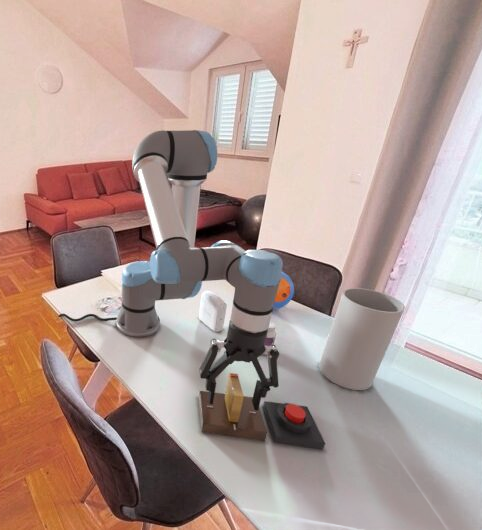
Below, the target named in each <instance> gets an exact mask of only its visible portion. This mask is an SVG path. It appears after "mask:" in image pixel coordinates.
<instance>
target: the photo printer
mask: <svg viewBox="0 0 482 530" xmlns="http://www.w3.org/2000/svg"><path fill="white" fill-rule="evenodd" d="M227 306H228V304H227V302H226V301H225V299H223V298H222V297H221V296H220V295H219V294H217V293H216V292H214V291H210V290H204V291H203V292H202V293H201V296H200V303H199V310H198V319H199V320H200V322H202V323H203V324H205V326H207V327H208V328H209V329H210V330H211V331H213V332H216V333H217V332H221V331H222V330H223V329H224V324H225V319H226V314H227V308H228V307H227Z"/></svg>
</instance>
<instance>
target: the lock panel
mask: <svg viewBox="0 0 482 530" xmlns="http://www.w3.org/2000/svg"><path fill="white" fill-rule="evenodd" d="M208 393H209V391H207V390H206V391H205V390H199V391H198V399H197V402H198V410H199V411H198V413H199V421H200V430H201V433H205V434H211V435H217V436H224V437H232V438H238V439H245V440H252V441H257V442H266V440H267V436H268V430H267V427H266V423H265V420H264V417H263V414H262V411H261V408H260V406H259V409H258V410H254V406H253V403H252V399H253V396H248V395H247V396H246V395H243V396H244V398H243V403H242V407H241V411H240V416H239V420H238V422H231V421H229V418H228V413H227V408H226V403H225V393H221V392H215V394H214V400H213V404H209V397H208Z"/></svg>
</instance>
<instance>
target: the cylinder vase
mask: <svg viewBox="0 0 482 530" xmlns="http://www.w3.org/2000/svg"><path fill="white" fill-rule="evenodd" d="M338 303H339V304H338V306H337V309H336V313H335V316H334V318H333V321H332V324H331V327H330V330H329V333H328V335H327V339H326V343H325V345H324V348H323V351H322V354H321V357H320V360H319V363H318V367H319V370H320V372H321V374H322V375H323V376H324V377H325V378H326V379H328V380H329V381H330V382H332V383H333V384H335V385H337V386H339V387H341V388H345V389H349V390H352V391H366V390H368V389H370V388H371V386H373V382H374V380H375V379H376V375H377V373H378V371H379V370H380V366H381V365H382V362H383V360H384V357H385V355H386V353H387V351H388V348H389V347H390V343H391V342H392V339H393V337H394V335H395V332H396V330H397V327H398V325H399V323H400V321H401V319H402V316H403V315H404V314H403V313H404V311H405V309H406V306H405V305H404V304H403V302H401V301H400V300H399V299H397V298H396V297H393V296H391V295H389V294H386V293H384V292H381V291H377V290H373V289H368V288H363V287H349V288H345V289H344V290H343V291H342V294H341V298H340V300H339V302H338Z"/></svg>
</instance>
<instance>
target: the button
mask: <svg viewBox="0 0 482 530" xmlns="http://www.w3.org/2000/svg"><path fill="white" fill-rule="evenodd" d="M298 405H299V404H298ZM298 405H297V404H295V403H290V404H288V405H287V406H286V409H285V416H286V418H287V419H289V420H290V421H292V422H294V423H298V424H300V423H303V422H304V419H305V416H306V413H305V411H304V410H303V409H302V408H301V407H300V406H301V405H299V406H298Z"/></svg>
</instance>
